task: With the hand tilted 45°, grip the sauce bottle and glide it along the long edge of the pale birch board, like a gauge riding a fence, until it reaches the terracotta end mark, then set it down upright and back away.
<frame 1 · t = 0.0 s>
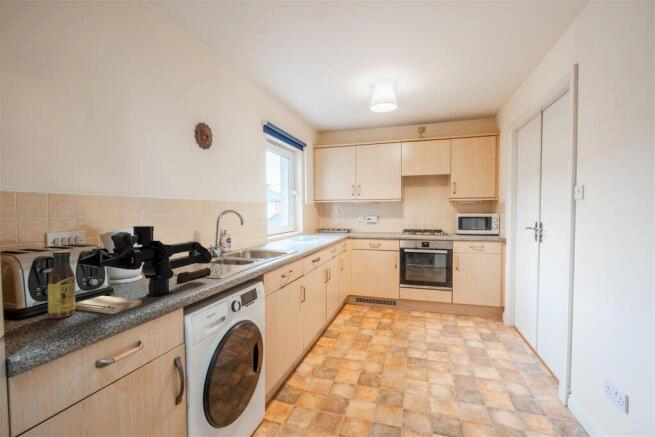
hand: (89, 262, 89), 17 cm above the worktop, tool horizontal, fingers open, 9 cm apart
hand tool: (194, 279, 139), on the worktop
sauce bottle: (62, 316, 91), on the worktop
birch board: (107, 306, 99), on the worktop
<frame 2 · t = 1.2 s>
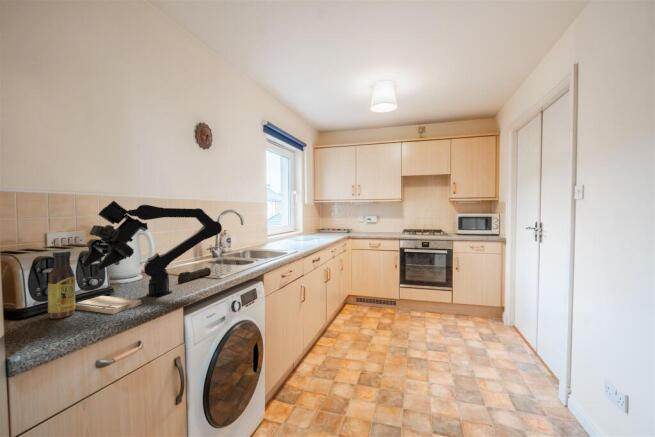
hand: (90, 267, 97), 13 cm above the worktop, tool tilted 45°, fingers open, 9 cm apart
nothing on the worktop moved.
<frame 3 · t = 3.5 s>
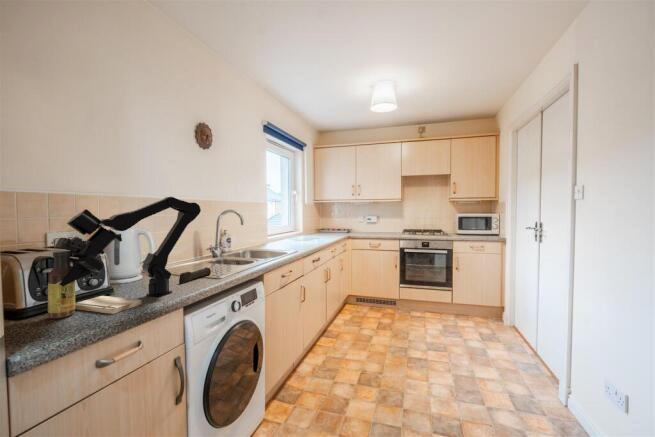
hand: (55, 284, 89), 10 cm above the worktop, tool tilted 45°, fingers closed on sauce bottle, 6 cm apart
sauce bottle: (62, 316, 91), on the worktop, touching gripper
everything else where it was.
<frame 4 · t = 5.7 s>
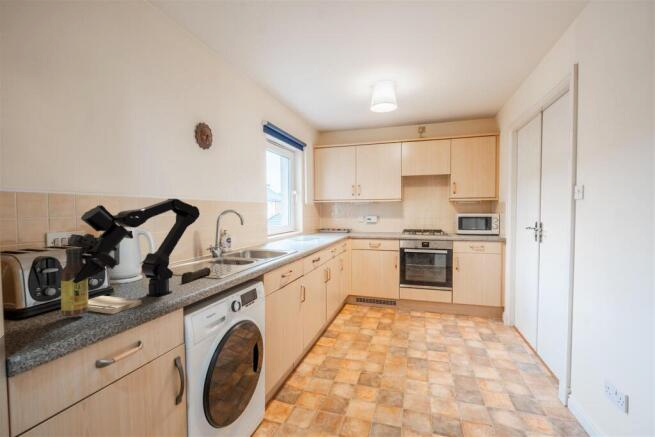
hand: (68, 281, 88), 11 cm above the worktop, tool tilted 45°, fingers closed on sauce bottle, 6 cm apart
sauce bottle: (75, 314, 89), point 1 cm above the worktop, touching gripper
when the fingers open (10 cm above the worktop, at t = 8.2 s): sauce bottle stays where it is, on the worktop.
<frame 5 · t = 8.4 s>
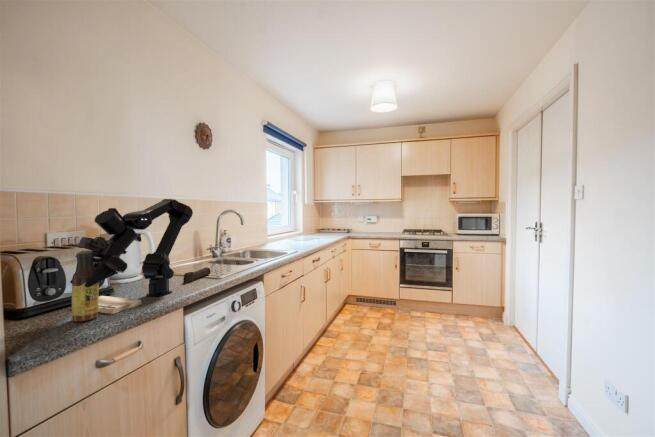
hand: (78, 285, 86), 11 cm above the worktop, tool tilted 45°, fingers open, 8 cm apart
sauce bottle: (85, 319, 88), on the worktop
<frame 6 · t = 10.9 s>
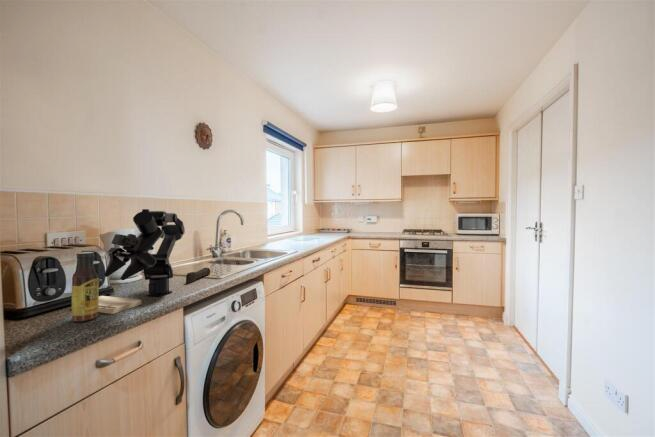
hand: (113, 277, 95), 11 cm above the worktop, tool tilted 45°, fingers open, 9 cm apart
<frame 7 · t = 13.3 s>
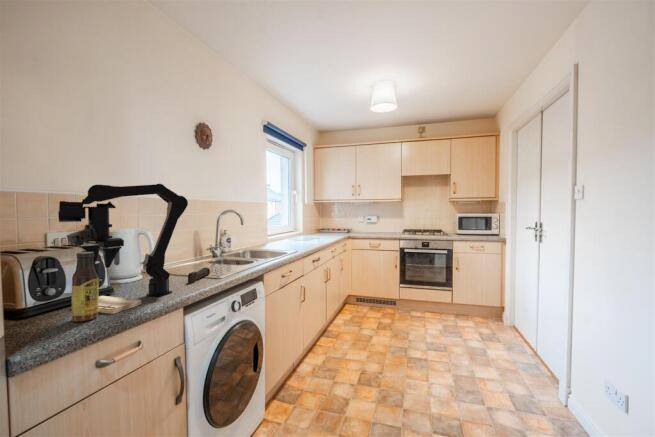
hand: (99, 266, 102), 13 cm above the worktop, tool pointing down, fingers open, 9 cm apart
at the end: sauce bottle inside the target area (0.5 cm from its centre), on the worktop; sauce bottle tilted 0°; the gripper is holding nothing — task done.
